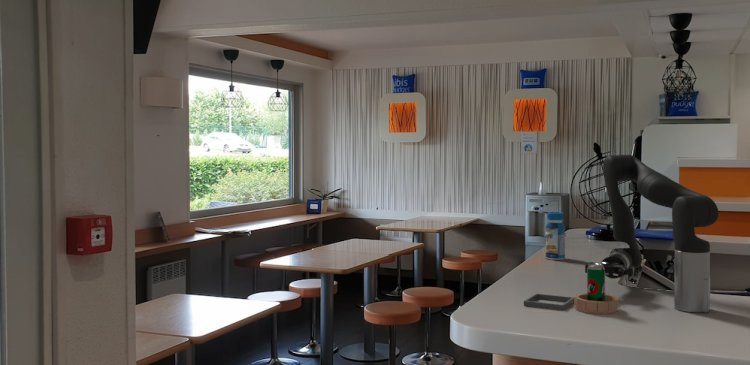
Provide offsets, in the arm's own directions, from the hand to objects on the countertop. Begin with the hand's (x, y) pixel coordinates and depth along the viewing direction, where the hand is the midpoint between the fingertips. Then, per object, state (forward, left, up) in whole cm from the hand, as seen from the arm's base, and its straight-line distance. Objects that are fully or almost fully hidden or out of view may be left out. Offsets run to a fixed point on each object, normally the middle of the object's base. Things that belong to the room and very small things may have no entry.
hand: (604, 273), depth 205 cm
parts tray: (+14, +10, -9) cm, 20 cm away
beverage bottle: (+37, -75, -9) cm, 84 cm away
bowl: (0, +10, -9) cm, 14 cm away
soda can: (0, +10, -8) cm, 13 cm away
